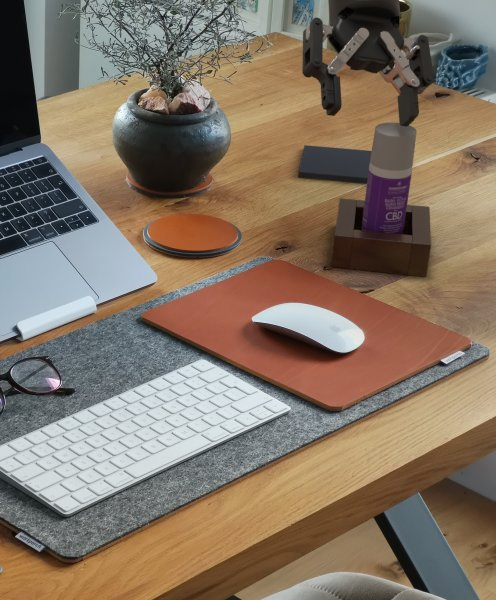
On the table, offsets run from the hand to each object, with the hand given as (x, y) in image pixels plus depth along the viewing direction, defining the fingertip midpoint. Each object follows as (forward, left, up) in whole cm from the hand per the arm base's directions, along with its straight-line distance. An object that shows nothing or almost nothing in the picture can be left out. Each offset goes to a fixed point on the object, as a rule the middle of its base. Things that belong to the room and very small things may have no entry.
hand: (371, 117), depth 118 cm
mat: (+3, -29, -18) cm, 34 cm away
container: (-3, -4, -18) cm, 19 cm away
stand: (-3, -4, -18) cm, 18 cm away
